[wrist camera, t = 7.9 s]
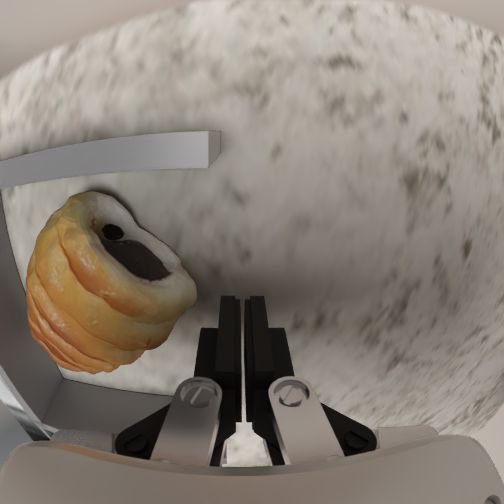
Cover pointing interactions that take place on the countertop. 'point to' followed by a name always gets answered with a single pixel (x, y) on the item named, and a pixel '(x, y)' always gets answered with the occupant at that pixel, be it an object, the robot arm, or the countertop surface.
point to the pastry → (102, 286)
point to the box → (14, 299)
